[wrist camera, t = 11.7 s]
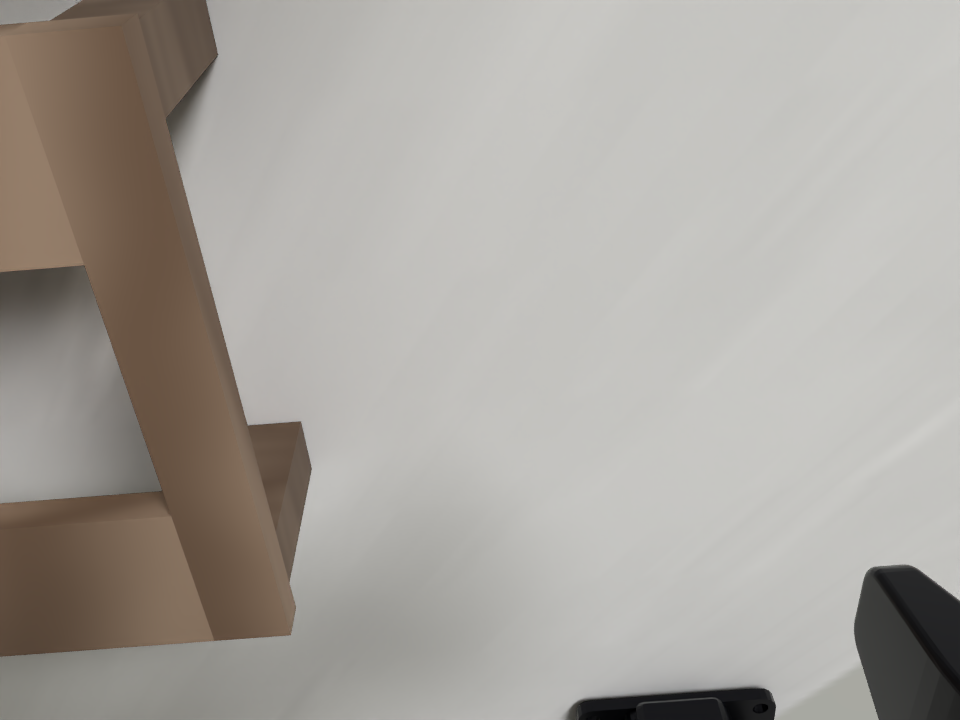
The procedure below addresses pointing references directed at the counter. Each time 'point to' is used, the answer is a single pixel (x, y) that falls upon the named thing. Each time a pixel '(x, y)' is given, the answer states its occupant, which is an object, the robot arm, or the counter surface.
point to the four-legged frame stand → (137, 350)
